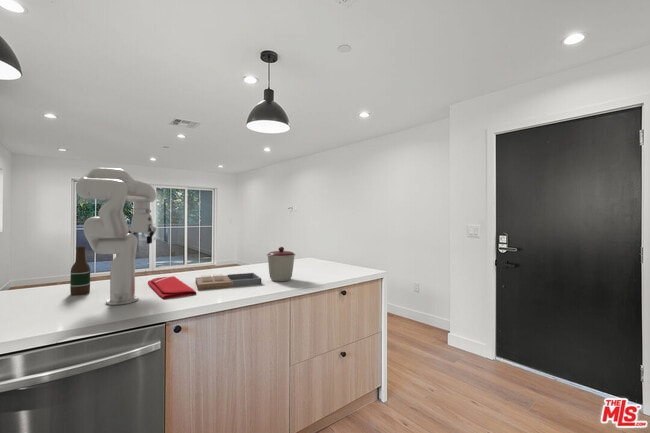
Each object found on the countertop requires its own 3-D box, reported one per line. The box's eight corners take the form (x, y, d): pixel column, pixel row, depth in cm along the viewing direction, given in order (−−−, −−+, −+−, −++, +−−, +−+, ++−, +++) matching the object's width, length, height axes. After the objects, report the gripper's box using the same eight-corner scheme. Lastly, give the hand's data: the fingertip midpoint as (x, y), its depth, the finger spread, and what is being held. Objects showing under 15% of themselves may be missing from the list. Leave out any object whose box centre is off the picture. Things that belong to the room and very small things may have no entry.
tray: (261, 284, 179) (261, 278, 179) (233, 286, 171) (233, 280, 171) (253, 278, 196) (253, 272, 196) (227, 280, 189) (227, 274, 189)
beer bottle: (78, 296, 148) (79, 247, 148) (66, 295, 150) (66, 246, 150) (93, 292, 156) (94, 245, 156) (81, 291, 157) (82, 245, 158)
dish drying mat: (162, 300, 144) (162, 292, 144) (146, 285, 176) (146, 278, 176) (196, 295, 154) (196, 288, 154) (176, 281, 186) (176, 275, 186)
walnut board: (232, 287, 171) (232, 281, 171) (198, 290, 163) (198, 284, 163) (226, 280, 189) (226, 275, 189) (195, 282, 181) (195, 277, 181)
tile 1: (211, 280, 173) (211, 276, 173) (201, 281, 171) (201, 277, 171) (210, 279, 178) (210, 274, 178) (201, 279, 175) (201, 275, 175)
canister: (267, 283, 180) (267, 248, 180) (265, 277, 198) (266, 245, 198) (297, 282, 185) (297, 248, 185) (293, 276, 202) (293, 245, 202)
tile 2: (223, 279, 176) (223, 275, 176) (214, 280, 174) (214, 276, 174) (221, 278, 180) (221, 274, 180) (212, 278, 178) (213, 274, 178)
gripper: (160, 212, 168) (160, 243, 168) (133, 211, 170) (132, 242, 170) (150, 211, 160) (150, 244, 160) (122, 211, 163) (121, 243, 163)
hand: (141, 243), depth 165 cm, fingers open, 9 cm apart
